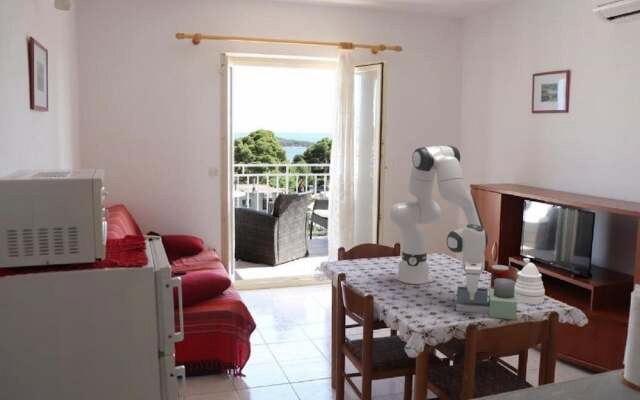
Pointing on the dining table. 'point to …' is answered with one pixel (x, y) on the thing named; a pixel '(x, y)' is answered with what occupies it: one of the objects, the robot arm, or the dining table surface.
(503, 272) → the canned food
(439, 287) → the dining table surface
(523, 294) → the honey pot
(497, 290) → the green base with cylinder
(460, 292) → the chute
